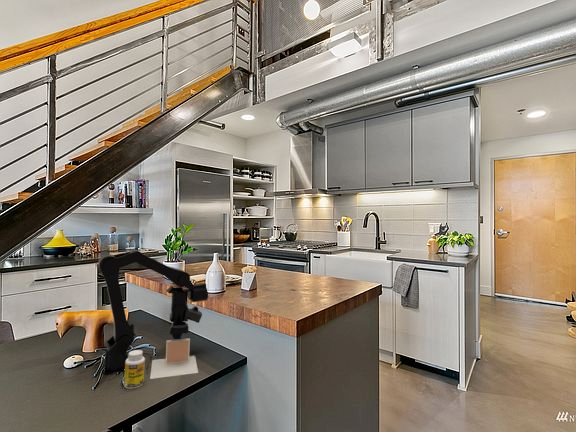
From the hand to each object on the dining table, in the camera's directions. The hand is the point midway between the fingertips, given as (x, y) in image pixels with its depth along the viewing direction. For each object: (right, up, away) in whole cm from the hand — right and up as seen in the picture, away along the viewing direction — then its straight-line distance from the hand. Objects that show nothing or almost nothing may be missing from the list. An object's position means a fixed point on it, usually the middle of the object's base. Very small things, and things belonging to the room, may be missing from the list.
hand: (177, 344), depth 119 cm
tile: (+2, -4, -6) cm, 7 cm away
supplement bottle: (-6, -4, -21) cm, 23 cm away
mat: (+2, -4, -9) cm, 10 cm away
